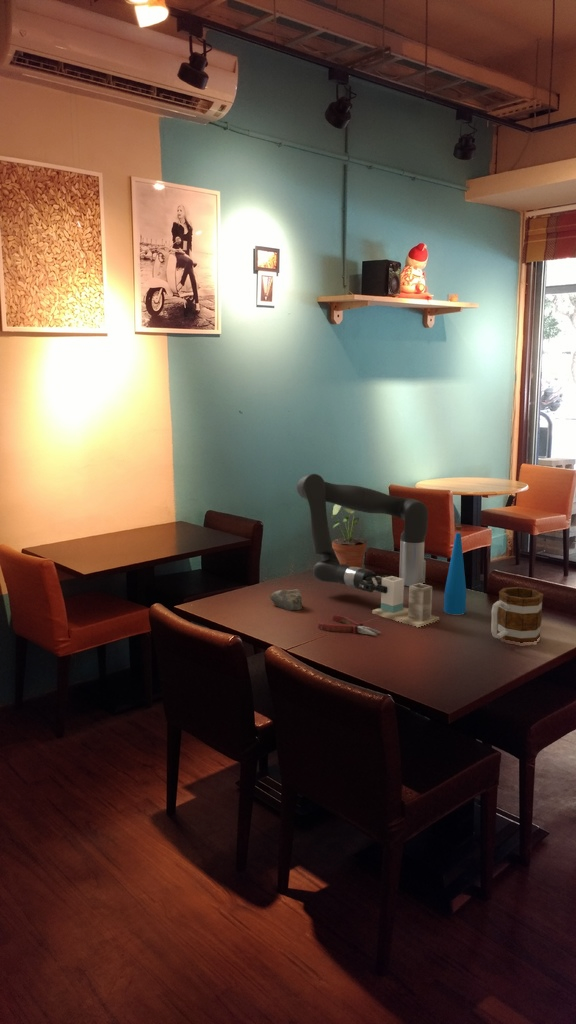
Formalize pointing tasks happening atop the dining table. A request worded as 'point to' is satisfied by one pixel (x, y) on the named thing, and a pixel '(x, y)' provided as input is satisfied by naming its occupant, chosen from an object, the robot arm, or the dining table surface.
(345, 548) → the potted plant
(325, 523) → the robot arm
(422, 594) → the peg socket fixture
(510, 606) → the mug
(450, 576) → the bottle
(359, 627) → the pliers
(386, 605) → the sleeve
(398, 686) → the dining table surface
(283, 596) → the rock
